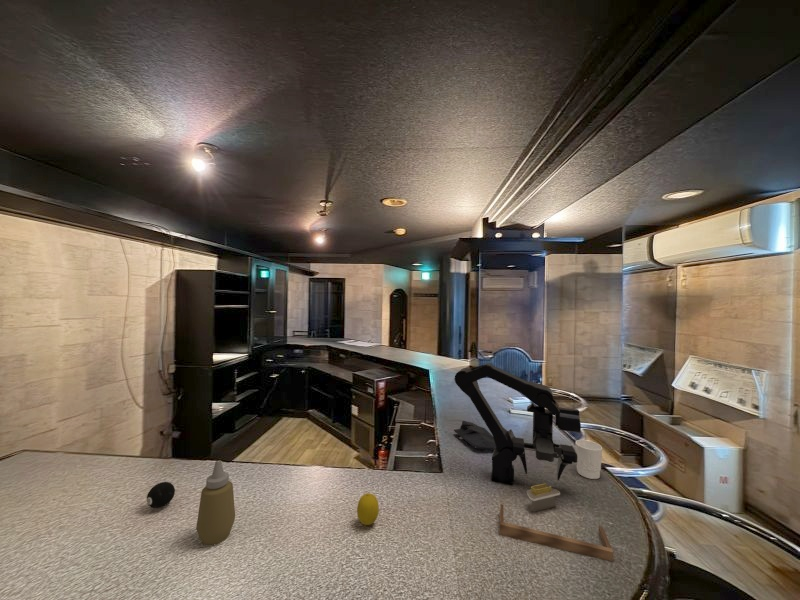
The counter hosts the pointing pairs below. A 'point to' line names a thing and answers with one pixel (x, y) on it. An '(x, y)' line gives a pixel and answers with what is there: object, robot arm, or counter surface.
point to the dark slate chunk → (476, 436)
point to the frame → (557, 540)
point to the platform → (542, 497)
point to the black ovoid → (160, 495)
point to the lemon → (367, 509)
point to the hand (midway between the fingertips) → (541, 476)
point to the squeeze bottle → (216, 507)
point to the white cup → (588, 458)
